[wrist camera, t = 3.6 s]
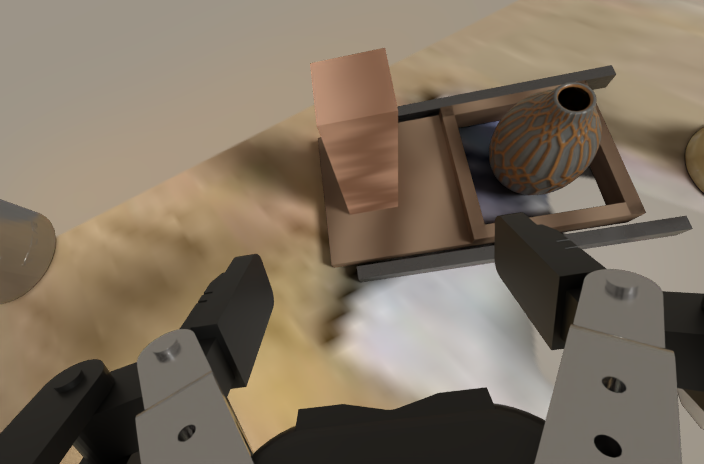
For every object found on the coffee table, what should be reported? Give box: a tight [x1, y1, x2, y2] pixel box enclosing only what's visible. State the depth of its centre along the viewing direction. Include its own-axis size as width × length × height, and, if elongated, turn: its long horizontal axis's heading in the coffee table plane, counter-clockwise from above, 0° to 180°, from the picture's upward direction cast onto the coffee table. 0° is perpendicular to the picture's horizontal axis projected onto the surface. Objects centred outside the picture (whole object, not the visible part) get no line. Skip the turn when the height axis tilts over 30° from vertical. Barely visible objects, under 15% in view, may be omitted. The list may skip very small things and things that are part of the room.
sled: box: [310, 48, 646, 268], centre depth 22 cm, size 23×12×13 cm, turn 97°
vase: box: [489, 82, 602, 195], centre depth 24 cm, size 7×7×9 cm
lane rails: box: [357, 65, 692, 282], centre depth 28 cm, size 24×15×2 cm, turn 97°
